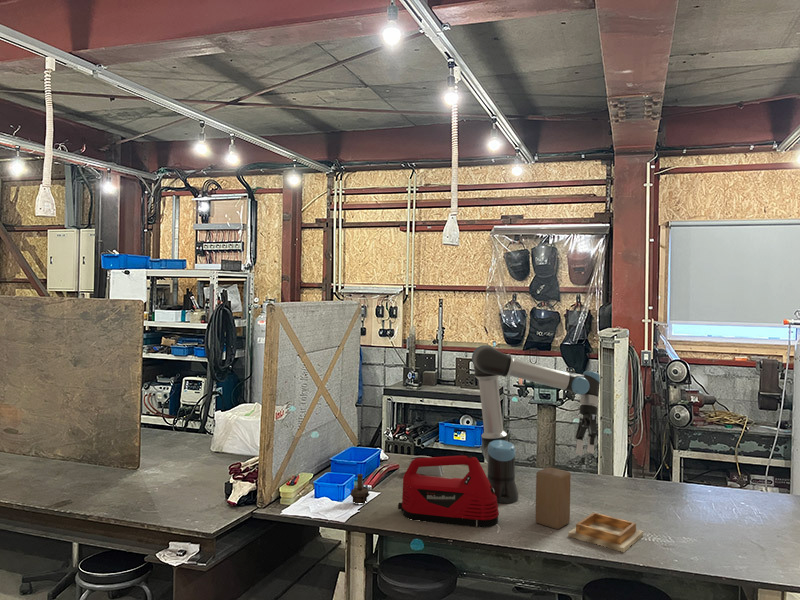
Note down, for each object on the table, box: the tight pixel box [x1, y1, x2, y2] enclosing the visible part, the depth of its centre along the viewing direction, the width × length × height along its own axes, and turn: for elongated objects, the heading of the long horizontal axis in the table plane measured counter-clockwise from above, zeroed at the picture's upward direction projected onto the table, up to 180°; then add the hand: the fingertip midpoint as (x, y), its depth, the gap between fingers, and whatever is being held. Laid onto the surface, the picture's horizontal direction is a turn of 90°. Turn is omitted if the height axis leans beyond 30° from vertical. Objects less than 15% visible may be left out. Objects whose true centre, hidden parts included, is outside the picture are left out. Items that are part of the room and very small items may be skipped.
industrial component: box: [349, 473, 371, 504], centre depth 247 cm, size 9×7×12 cm
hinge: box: [409, 455, 444, 477], centre depth 289 cm, size 17×5×10 cm, turn 72°
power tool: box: [397, 455, 500, 528], centre depth 233 cm, size 16×40×25 cm, turn 75°
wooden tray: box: [567, 512, 644, 553], centre depth 217 cm, size 20×20×4 cm
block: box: [534, 466, 572, 530], centre depth 228 cm, size 10×10×20 cm
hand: (584, 453), depth 261 cm, fingers open, 13 cm apart
